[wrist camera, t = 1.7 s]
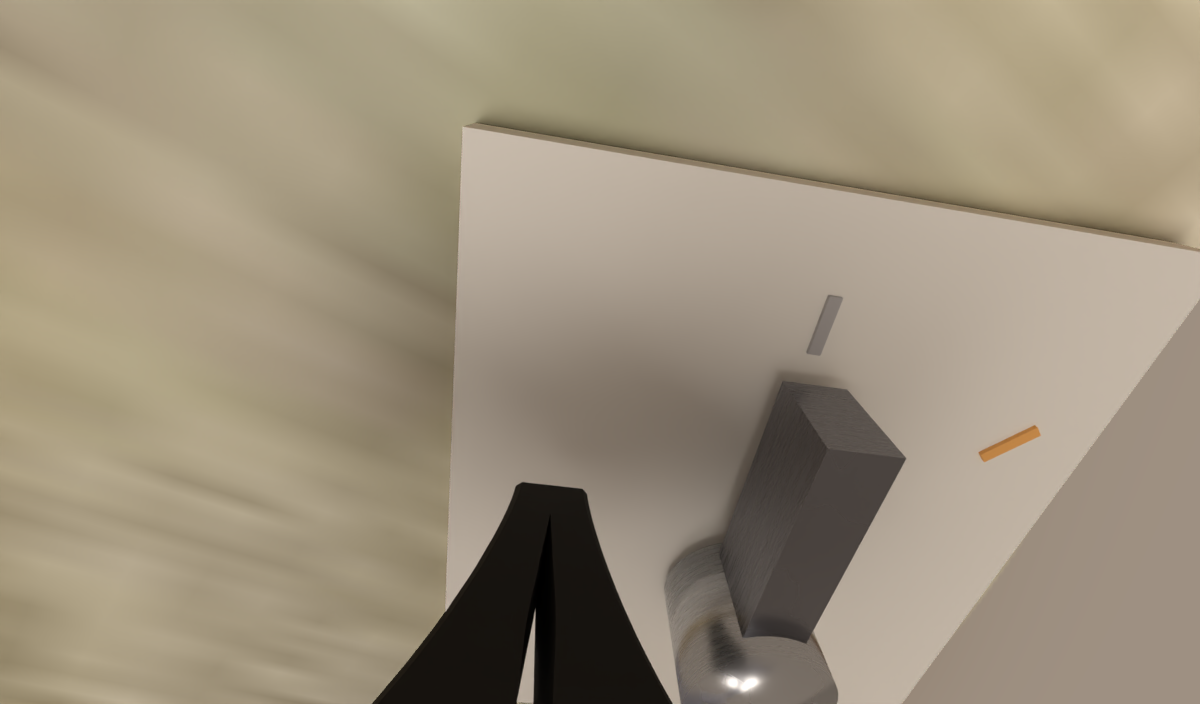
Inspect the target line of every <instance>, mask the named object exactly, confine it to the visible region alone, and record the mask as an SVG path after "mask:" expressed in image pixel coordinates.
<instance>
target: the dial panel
mask: <svg viewBox="0 0 1200 704" xmlns="http://www.w3.org/2000/svg"><path fill="white" fill-rule="evenodd" d="M1199 299H1200V249H1197V248H1193V247H1189V246H1185V245H1181V244H1178V243H1174V242H1168V241H1163V240H1157V239H1151V238H1145V237H1139V236H1133V235H1128V234H1122V233H1116V232H1110V231H1104V230H1098V229H1092V228H1087V227H1081V226H1075V225H1069V224H1063V223H1057V222H1052V221H1046V220H1040V219H1034V218H1028V217H1022V216H1017V215H1011V214H1005V213H999V212H993V211H987V210H982V209H976V208H970V207H964V206H958V205H952V204H947V203H941V202H935V201H929V200H923V199H917V198H911V197H906V196H900V195H894V194H888V193H882V192H876V191H871V190H865V189H859V188H853V187H847V186H841V185H836V184H830V183H824V182H818V181H812V180H806V179H801V178H795V177H789V176H783V175H777V174H771V173H765V172H760V171H754V170H748V169H742V168H736V167H730V166H725V165H719V164H713V163H707V162H701V161H695V160H690V159H684V158H678V157H672V156H666V155H660V154H655V153H649V152H643V151H637V150H631V149H625V148H620V147H614V146H608V145H602V144H596V143H590V142H584V141H579V140H573V139H567V138H561V137H555V136H549V135H544V134H538V133H532V132H526V131H520V130H514V129H509V128H503V127H497V126H491V125H485V124H479V123H473V124H470V125H466V126H463V132H462V160H461V188H460V215H459V243H458V271H457V298H456V326H455V354H454V381H453V409H452V437H451V464H450V492H449V520H448V547H447V575H446V603H445V612H446V610H447V609H448V607H449V606H450V604H451V603H452V601H453V600H454V598H455V597H456V596H457V594H458V593H459V591H460V590H461V588H462V587H463V585H464V584H465V582H466V581H467V579H468V578H469V576H470V575H471V573H472V572H473V570H474V568H475V567H476V565H477V564H478V562H479V560H480V558H481V557H482V555H483V553H484V552H485V550H486V548H487V546H488V545H489V543H490V541H491V540H492V538H493V536H494V534H495V533H496V531H497V529H498V527H499V525H500V523H501V521H502V519H503V517H504V515H505V513H506V511H507V508H508V506H509V504H510V501H511V499H512V496H513V493H514V490H515V487H516V485H518V484H520V483H521V482H527V483H536V484H545V485H553V486H562V487H571V488H580V489H583V490H584V491H585V492H586V493H587V497H588V503H589V507H590V512H591V516H592V520H593V523H594V527H595V530H596V534H597V537H598V540H599V543H600V546H601V549H602V552H603V555H604V558H605V561H606V563H607V566H608V569H609V571H610V574H611V577H612V579H613V582H614V584H615V587H616V590H617V592H618V594H619V597H620V599H621V602H622V604H623V606H624V609H625V611H626V613H627V615H628V617H629V620H630V622H631V624H632V626H633V629H634V631H635V633H636V635H637V637H638V639H639V641H640V643H641V645H642V647H643V649H644V651H645V653H646V655H647V657H648V659H649V661H650V663H651V665H652V667H653V669H654V671H655V672H656V674H657V676H658V678H659V680H660V682H661V684H662V686H663V687H664V689H665V691H666V693H667V694H668V696H669V698H670V700H671V701H672V703H673V704H681V702H680V696H679V689H678V682H677V675H676V669H675V662H674V655H673V648H672V642H671V635H670V628H669V622H668V615H667V608H666V601H665V595H664V586H665V582H666V579H667V577H668V575H669V573H670V571H671V570H672V569H673V567H674V566H675V565H676V564H677V563H678V562H679V561H680V560H682V559H683V558H684V557H686V556H687V555H689V554H691V553H692V552H694V551H696V550H699V549H701V548H704V547H707V546H710V545H714V544H718V543H723V540H724V537H725V535H726V532H727V529H728V526H729V524H730V521H731V518H732V516H733V513H734V510H735V508H736V505H737V502H738V500H739V497H740V494H741V491H742V489H743V486H744V483H745V481H746V478H747V475H748V473H749V470H750V467H751V465H752V462H753V459H754V457H755V454H756V451H757V448H758V446H759V443H760V440H761V438H762V435H763V432H764V430H765V427H766V424H767V422H768V419H769V416H770V414H771V411H772V408H773V405H774V403H775V400H776V397H777V395H778V392H779V389H780V387H781V384H782V381H788V382H795V383H803V384H810V385H818V386H825V387H833V388H840V389H847V390H848V391H849V392H850V393H851V395H852V396H853V397H854V398H855V399H856V400H857V402H858V403H859V404H860V405H861V406H862V407H863V409H864V410H865V411H866V412H867V413H868V414H869V415H870V417H871V418H872V419H873V420H874V421H875V422H876V424H877V425H878V426H879V427H880V428H881V429H882V431H883V432H884V433H885V434H886V435H887V436H888V438H889V439H890V440H891V441H892V442H893V443H894V444H895V446H896V447H897V448H898V449H899V450H900V451H901V453H902V454H903V455H904V456H905V457H906V460H905V462H904V464H903V466H902V468H901V470H900V471H899V473H898V475H897V477H896V479H895V481H894V483H893V484H892V486H891V488H890V490H889V492H888V494H887V495H886V497H885V499H884V501H883V503H882V505H881V507H880V508H879V510H878V512H877V514H876V516H875V518H874V519H873V521H872V523H871V525H870V527H869V529H868V531H867V532H866V534H865V536H864V538H863V540H862V542H861V544H860V545H859V547H858V549H857V551H856V553H855V555H854V556H853V558H852V560H851V562H850V564H849V566H848V568H847V569H846V571H845V573H844V575H843V577H842V579H841V580H840V582H839V584H838V586H837V588H836V590H835V592H834V593H833V595H832V597H831V599H830V601H829V603H828V604H827V606H826V608H825V610H824V612H823V614H822V616H821V617H820V619H819V621H818V623H817V625H816V627H815V629H814V630H813V631H814V633H815V636H816V638H817V641H818V643H819V645H820V648H821V650H822V653H823V655H824V658H825V660H826V662H827V665H828V667H829V670H830V672H831V674H832V677H833V679H834V682H835V684H836V686H837V689H838V701H837V704H902V703H903V702H904V700H905V699H906V698H907V696H908V695H909V693H910V692H911V691H912V689H913V688H914V687H915V685H916V684H917V683H918V681H919V680H920V679H921V677H922V676H923V674H924V673H925V672H926V670H927V669H928V668H929V666H930V665H931V664H932V662H933V661H934V659H935V658H936V657H937V655H938V654H939V653H940V651H941V650H942V649H943V647H944V646H945V645H946V643H947V642H948V640H949V639H950V638H951V636H952V635H953V634H954V632H955V631H956V630H957V628H958V627H959V626H960V624H961V623H962V621H963V620H964V619H965V617H966V616H967V615H968V613H969V612H970V611H971V609H972V608H973V607H974V605H975V604H976V602H977V601H978V600H979V598H980V597H981V596H982V594H983V593H984V592H985V590H986V589H987V587H988V586H989V585H990V583H991V582H992V581H993V579H994V578H995V577H996V575H997V574H998V573H999V571H1000V570H1001V568H1002V567H1003V566H1004V564H1005V563H1006V562H1007V560H1008V559H1009V558H1010V556H1011V555H1012V554H1013V552H1014V551H1015V549H1016V548H1017V547H1018V545H1019V544H1020V543H1021V541H1022V540H1023V539H1024V537H1025V536H1026V535H1027V533H1028V532H1029V530H1030V529H1031V528H1032V526H1033V525H1034V524H1035V522H1036V521H1037V520H1038V518H1039V517H1040V515H1041V514H1042V513H1043V511H1044V510H1045V509H1046V507H1047V506H1048V505H1049V503H1050V502H1051V501H1052V499H1053V498H1054V496H1055V495H1056V494H1057V492H1058V491H1059V490H1060V488H1061V487H1062V486H1063V484H1064V483H1065V482H1066V480H1067V479H1068V477H1069V476H1070V475H1071V473H1072V472H1073V470H1074V469H1075V468H1076V466H1077V465H1078V464H1079V462H1080V461H1081V460H1082V458H1083V457H1084V456H1085V454H1086V453H1087V452H1088V450H1089V448H1091V446H1092V445H1093V443H1094V442H1095V441H1096V439H1097V438H1098V437H1099V435H1100V434H1101V433H1102V431H1103V430H1104V429H1105V427H1106V426H1107V424H1108V423H1109V422H1110V420H1111V419H1112V417H1113V416H1114V415H1115V414H1116V412H1117V411H1118V409H1119V408H1120V407H1121V405H1122V404H1123V403H1124V401H1125V400H1126V399H1127V397H1128V396H1129V395H1130V393H1131V392H1132V390H1133V389H1134V388H1135V386H1136V385H1137V383H1138V382H1139V381H1140V380H1141V378H1142V377H1143V376H1144V374H1145V373H1146V371H1147V370H1148V369H1149V367H1150V366H1151V365H1152V363H1153V362H1154V361H1155V359H1156V358H1157V357H1158V355H1159V354H1160V352H1161V351H1162V350H1163V348H1164V347H1165V346H1166V344H1167V343H1168V342H1169V340H1170V339H1171V337H1172V336H1173V335H1174V333H1175V332H1176V331H1177V329H1178V328H1179V327H1180V325H1181V324H1182V323H1183V321H1184V320H1185V318H1186V317H1187V316H1188V314H1189V313H1190V312H1191V310H1192V309H1193V308H1194V306H1195V305H1196V303H1197V302H1198V301H1199ZM535 609H536V608H535ZM534 651H535V613H534V618H533V623H532V628H531V633H530V638H529V643H528V648H527V653H526V658H525V663H524V668H523V673H522V678H521V683H520V688H519V693H518V698H517V702H523V703H533V697H534Z"/></svg>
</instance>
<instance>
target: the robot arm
mask: <svg viewBox="0 0 1200 704" xmlns="http://www.w3.org/2000/svg"><path fill="white" fill-rule="evenodd" d="M535 608H536V609H535ZM534 613H535V651H534V697H533V704H673V703H672V701H671V700H670V698H669V696H668V694H667V693H666V691H665V689H664V687H663V686H662V684H661V682H660V680H659V678H658V676H657V674H656V672H655V671H654V669H653V667H652V665H651V663H650V661H649V659H648V657H647V655H646V653H645V651H644V649H643V647H642V645H641V643H640V641H639V639H638V637H637V635H636V633H635V631H634V629H633V626H632V624H631V622H630V620H629V617H628V615H627V613H626V611H625V609H624V606H623V604H622V602H621V599H620V597H619V594H618V592H617V590H616V587H615V584H614V582H613V579H612V577H611V574H610V571H609V569H608V566H607V563H606V561H605V558H604V555H603V552H602V549H601V546H600V543H599V540H598V537H597V534H596V530H595V527H594V523H593V520H592V516H591V512H590V507H589V503H588V497H587V493H586V492H585V491H584V490H583V489H580V488H571V487H562V486H553V485H545V484H536V483H527V482H521V483H520V484H518V485H516V487H515V490H514V493H513V496H512V499H511V501H510V504H509V506H508V508H507V511H506V513H505V515H504V517H503V519H502V521H501V523H500V525H499V527H498V529H497V531H496V533H495V534H494V536H493V538H492V540H491V541H490V543H489V545H488V546H487V548H486V550H485V552H484V553H483V555H482V557H481V558H480V560H479V562H478V564H477V565H476V567H475V568H474V570H473V572H472V573H471V575H470V576H469V578H468V579H467V581H466V582H465V584H464V585H463V587H462V588H461V590H460V591H459V593H458V594H457V596H456V597H455V598H454V600H453V601H452V603H451V604H450V606H449V607H448V609H447V610H446V612H445V613H444V614H443V616H442V617H441V619H440V620H439V621H438V623H437V624H436V625H435V627H434V628H433V629H432V631H431V632H430V633H429V635H428V636H427V637H426V639H425V640H424V641H423V643H422V644H421V645H420V646H419V648H418V649H417V650H416V651H415V653H414V654H413V655H412V657H411V658H410V659H409V660H408V662H407V663H406V664H405V665H404V666H403V668H402V669H401V670H400V671H399V672H398V674H397V675H396V676H395V677H394V678H393V680H392V681H391V682H390V683H389V684H388V686H387V687H386V688H385V689H384V690H383V691H382V693H381V694H380V695H379V696H378V697H377V699H376V700H375V701H374V702H373V703H372V704H516V703H517V698H518V693H519V688H520V683H521V678H522V673H523V668H524V663H525V658H526V653H527V648H528V643H529V638H530V633H531V628H532V623H533V618H534Z"/></svg>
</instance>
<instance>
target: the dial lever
mask: <svg viewBox="0 0 1200 704" xmlns="http://www.w3.org/2000/svg"><path fill="white" fill-rule="evenodd" d="M905 460H906V457H905V456H904V455H903V454H902V453H901V451H900V450H899V449H898V448H897V447H896V446H895V444H894V443H893V442H892V441H891V440H890V439H889V438H888V436H887V435H886V434H885V433H884V432H883V431H882V429H881V428H880V427H879V426H878V425H877V424H876V422H875V421H874V420H873V419H872V418H871V417H870V415H869V414H868V413H867V412H866V411H865V410H864V409H863V407H862V406H861V405H860V404H859V403H858V402H857V400H856V399H855V398H854V397H853V396H852V395H851V393H850V392H849V391H848V390H847V389H840V388H833V387H825V386H818V385H810V384H803V383H795V382H788V381H782V384H781V387H780V389H779V392H778V395H777V397H776V400H775V403H774V405H773V408H772V411H771V414H770V416H769V419H768V422H767V424H766V427H765V430H764V432H763V435H762V438H761V440H760V443H759V446H758V448H757V451H756V454H755V457H754V459H753V462H752V465H751V467H750V470H749V473H748V475H747V478H746V481H745V483H744V486H743V489H742V491H741V494H740V497H739V500H738V502H737V505H736V508H735V510H734V513H733V516H732V518H731V521H730V524H729V526H728V529H727V532H726V535H725V537H724V540H723V543H718V544H714V545H710V546H707V547H704V548H701V549H699V550H696V551H694V552H692V553H691V554H689V555H687V556H686V557H684V558H683V559H682V560H680V561H679V562H678V563H677V564H676V565H675V566H674V567H673V569H672V570H671V571H670V573H669V575H668V577H667V579H666V582H665V586H664V595H665V601H666V608H667V615H668V622H669V628H670V635H671V642H672V648H673V655H674V662H675V669H676V675H677V682H678V689H679V696H680V702H681V704H837V701H838V689H837V686H836V684H835V682H834V679H833V677H832V674H831V672H830V670H829V667H828V665H827V662H826V660H825V658H824V655H823V653H822V650H821V648H820V645H819V643H818V641H817V638H816V636H815V633H814V631H813V630H814V629H815V627H816V625H817V623H818V621H819V619H820V617H821V616H822V614H823V612H824V610H825V608H826V606H827V604H828V603H829V601H830V599H831V597H832V595H833V593H834V592H835V590H836V588H837V586H838V584H839V582H840V580H841V579H842V577H843V575H844V573H845V571H846V569H847V568H848V566H849V564H850V562H851V560H852V558H853V556H854V555H855V553H856V551H857V549H858V547H859V545H860V544H861V542H862V540H863V538H864V536H865V534H866V532H867V531H868V529H869V527H870V525H871V523H872V521H873V519H874V518H875V516H876V514H877V512H878V510H879V508H880V507H881V505H882V503H883V501H884V499H885V497H886V495H887V494H888V492H889V490H890V488H891V486H892V484H893V483H894V481H895V479H896V477H897V475H898V473H899V471H900V470H901V468H902V466H903V464H904V462H905Z"/></svg>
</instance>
